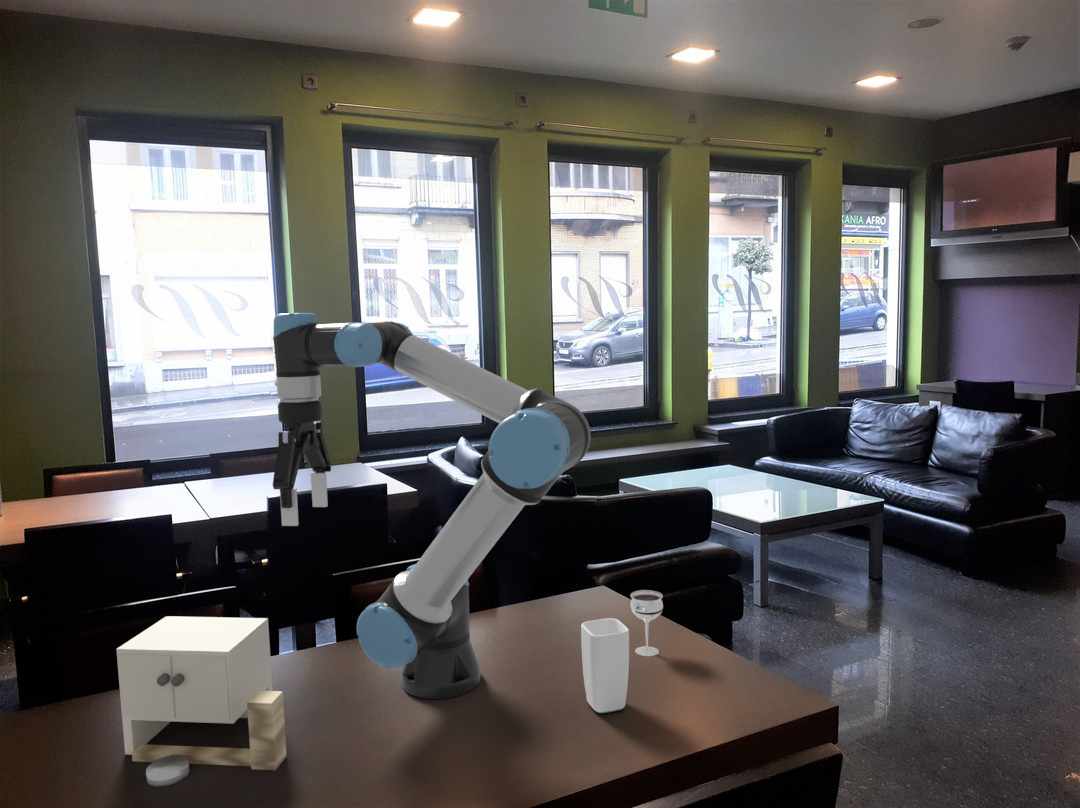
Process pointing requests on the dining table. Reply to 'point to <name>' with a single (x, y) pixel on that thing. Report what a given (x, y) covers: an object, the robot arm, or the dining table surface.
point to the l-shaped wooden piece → (261, 755)
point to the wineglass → (646, 614)
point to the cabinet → (191, 673)
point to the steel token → (167, 770)
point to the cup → (605, 663)
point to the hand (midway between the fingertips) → (306, 515)
